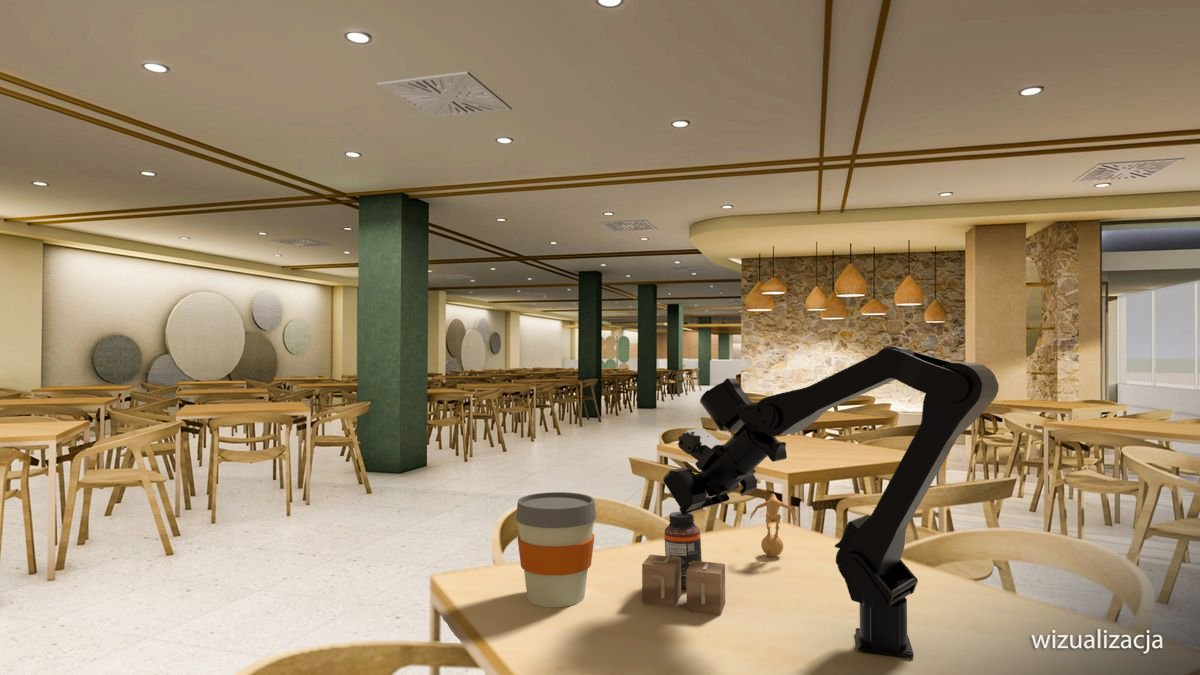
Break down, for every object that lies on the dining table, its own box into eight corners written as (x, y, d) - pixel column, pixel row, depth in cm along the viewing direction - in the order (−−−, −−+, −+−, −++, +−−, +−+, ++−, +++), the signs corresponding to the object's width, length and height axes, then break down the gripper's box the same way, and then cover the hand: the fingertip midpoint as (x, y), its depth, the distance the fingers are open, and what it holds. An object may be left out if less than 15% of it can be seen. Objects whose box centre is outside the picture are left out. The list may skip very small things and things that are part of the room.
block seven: (674, 608, 100) (674, 566, 100) (641, 604, 101) (641, 563, 101) (681, 596, 105) (680, 556, 105) (650, 592, 106) (650, 553, 106)
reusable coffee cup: (606, 607, 100) (606, 506, 100) (522, 616, 96) (523, 511, 97) (584, 579, 112) (584, 489, 112) (509, 587, 108) (510, 494, 109)
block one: (720, 616, 96) (720, 573, 97) (686, 612, 98) (686, 569, 98) (725, 603, 101) (725, 562, 102) (692, 599, 103) (692, 559, 103)
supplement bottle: (679, 575, 114) (676, 508, 115) (709, 581, 110) (706, 512, 111) (659, 584, 110) (656, 514, 110) (690, 591, 106) (687, 518, 106)
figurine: (793, 553, 126) (793, 490, 127) (798, 563, 120) (798, 496, 121) (748, 552, 128) (748, 489, 128) (751, 561, 122) (751, 495, 122)
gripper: (743, 410, 113) (689, 465, 121) (674, 418, 100) (619, 479, 108) (784, 464, 108) (725, 517, 116) (716, 479, 95) (655, 538, 103)
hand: (682, 511), depth 111 cm, fingers closed, pressing on supplement bottle
